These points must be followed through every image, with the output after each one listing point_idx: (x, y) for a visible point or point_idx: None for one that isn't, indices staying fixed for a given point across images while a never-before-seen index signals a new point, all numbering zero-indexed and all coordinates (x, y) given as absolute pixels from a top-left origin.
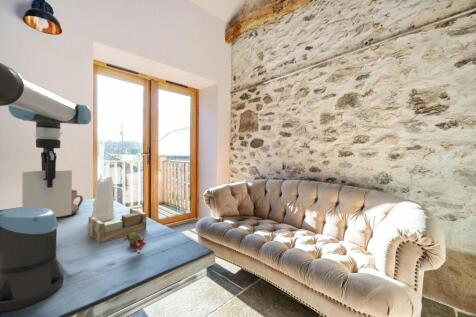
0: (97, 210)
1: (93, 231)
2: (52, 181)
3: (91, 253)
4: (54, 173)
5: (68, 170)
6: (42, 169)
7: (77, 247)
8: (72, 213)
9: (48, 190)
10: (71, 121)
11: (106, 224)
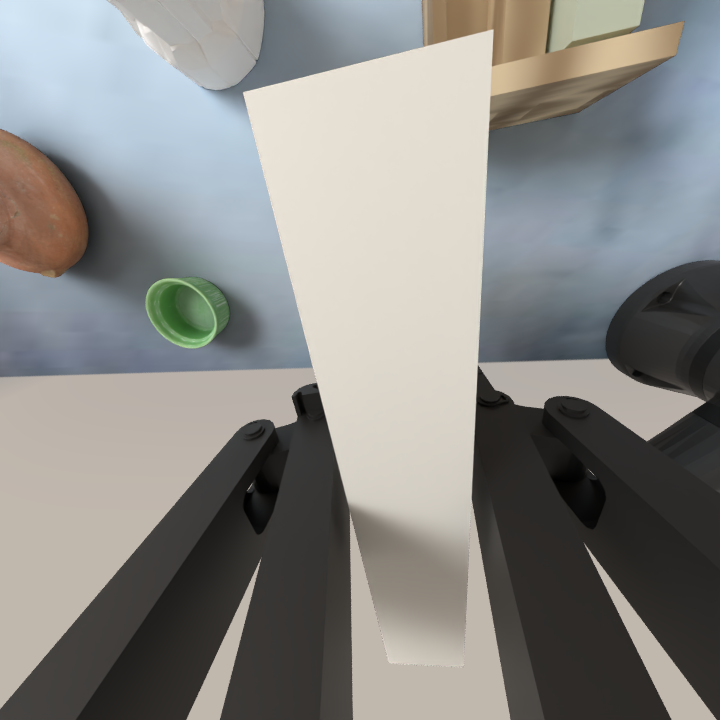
0: (199, 8)
1: (509, 113)
2: (493, 388)
3: (609, 159)
4: (656, 464)
5: (481, 182)
6: (253, 570)
7: (505, 198)
8: (58, 169)
9: None
10: None
11: (628, 11)
